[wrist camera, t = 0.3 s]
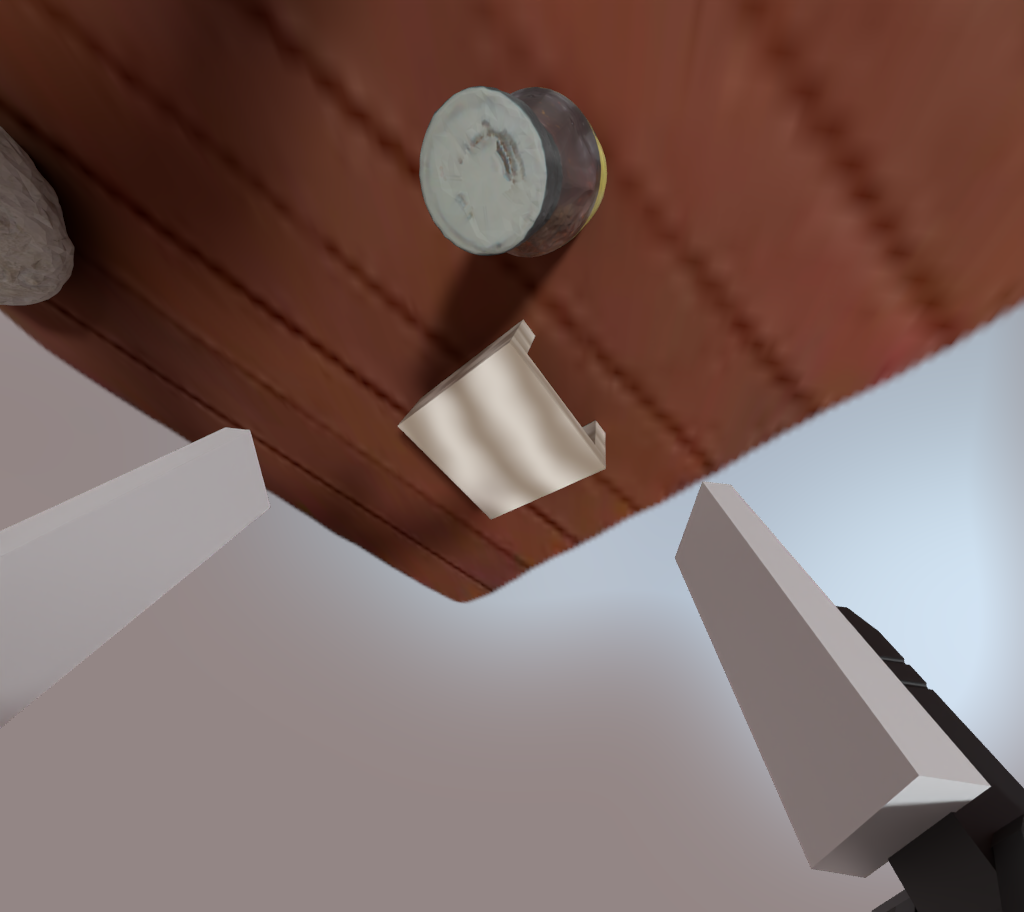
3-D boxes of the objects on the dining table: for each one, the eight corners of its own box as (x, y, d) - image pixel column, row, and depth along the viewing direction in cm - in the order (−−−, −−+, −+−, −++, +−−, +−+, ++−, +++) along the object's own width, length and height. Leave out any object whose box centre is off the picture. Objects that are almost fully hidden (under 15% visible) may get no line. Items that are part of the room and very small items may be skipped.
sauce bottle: (613, 124, 24) (637, 4, 8) (598, 235, 28) (595, 298, 12) (515, 125, 25) (368, 18, 9) (514, 232, 29) (407, 287, 13)
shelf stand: (523, 319, 32) (509, 342, 28) (605, 433, 37) (605, 468, 33) (422, 397, 39) (397, 425, 35) (502, 484, 44) (491, 519, 40)
